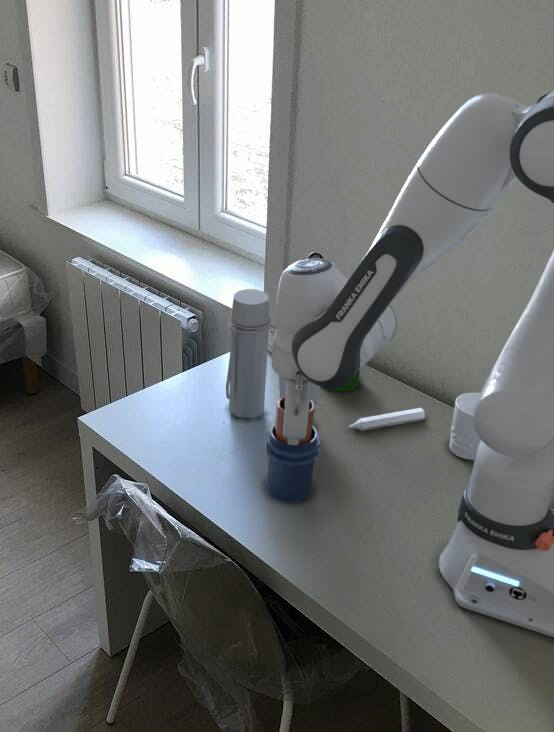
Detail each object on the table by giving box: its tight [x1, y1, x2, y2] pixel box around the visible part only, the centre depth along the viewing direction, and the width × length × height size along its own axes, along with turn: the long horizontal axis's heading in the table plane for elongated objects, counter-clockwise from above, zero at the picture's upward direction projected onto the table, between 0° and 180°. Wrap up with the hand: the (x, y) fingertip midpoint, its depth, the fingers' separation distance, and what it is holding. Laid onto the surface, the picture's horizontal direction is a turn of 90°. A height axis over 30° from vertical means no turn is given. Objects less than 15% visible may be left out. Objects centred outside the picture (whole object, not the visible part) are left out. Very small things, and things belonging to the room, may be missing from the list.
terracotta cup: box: [274, 396, 315, 444], centre depth 142 cm, size 6×6×10 cm
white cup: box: [448, 392, 481, 461], centre depth 154 cm, size 8×8×10 cm
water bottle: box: [225, 288, 272, 419], centre depth 162 cm, size 9×8×25 cm
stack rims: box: [265, 430, 321, 466], centre depth 144 cm, size 9×9×2 cm
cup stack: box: [265, 423, 319, 503], centre depth 146 cm, size 8×8×12 cm
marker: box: [346, 407, 426, 432], centre depth 164 cm, size 3×2×16 cm
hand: (293, 429), depth 142 cm, fingers closed on terracotta cup, 6 cm apart
